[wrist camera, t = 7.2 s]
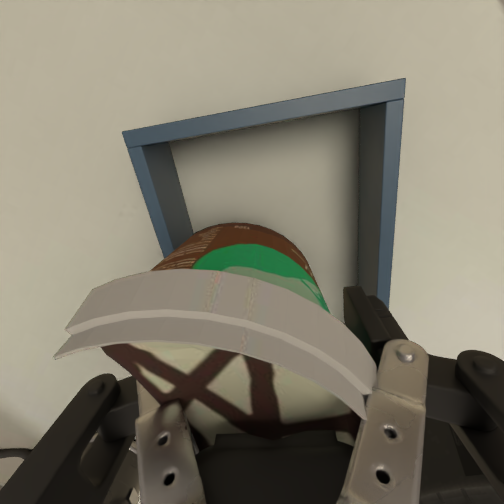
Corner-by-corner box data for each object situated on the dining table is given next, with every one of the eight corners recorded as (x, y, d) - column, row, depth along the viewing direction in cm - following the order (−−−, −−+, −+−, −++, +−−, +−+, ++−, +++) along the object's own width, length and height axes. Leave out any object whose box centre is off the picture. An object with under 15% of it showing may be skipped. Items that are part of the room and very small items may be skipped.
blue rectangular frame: (214, 342, 24) (204, 379, 21) (153, 131, 17) (120, 131, 13) (366, 331, 22) (384, 369, 19) (373, 89, 15) (406, 77, 11)
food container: (362, 326, 17) (463, 544, 8) (279, 356, 19) (287, 564, 10) (277, 154, 13) (292, 209, 4) (180, 211, 15) (33, 341, 6)
